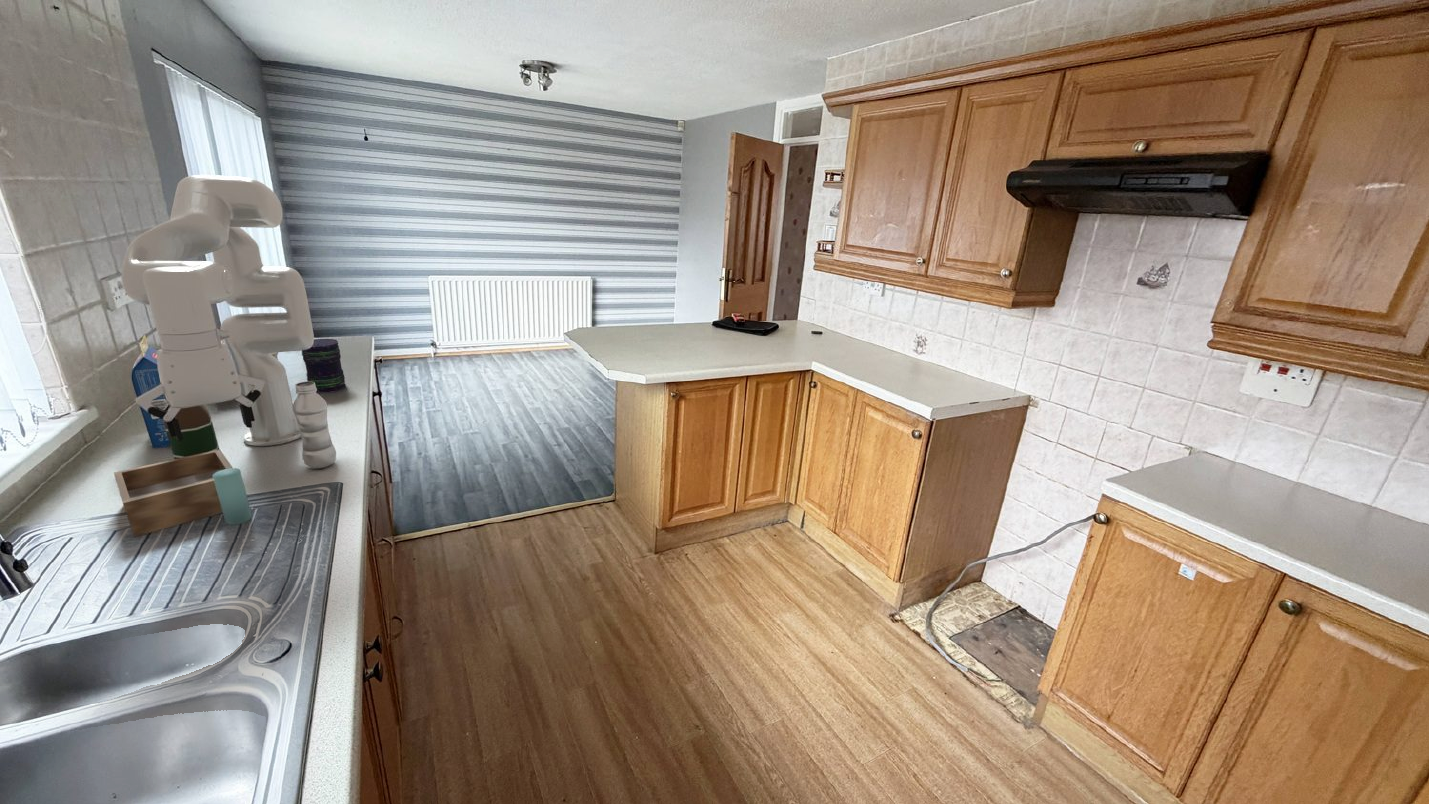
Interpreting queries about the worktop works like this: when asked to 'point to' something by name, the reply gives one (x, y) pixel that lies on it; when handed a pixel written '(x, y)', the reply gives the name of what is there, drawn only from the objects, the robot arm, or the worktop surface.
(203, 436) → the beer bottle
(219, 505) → the box
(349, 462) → the worktop surface
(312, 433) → the plastic bottle
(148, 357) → the blue food package
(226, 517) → the peg
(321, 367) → the storage jar
